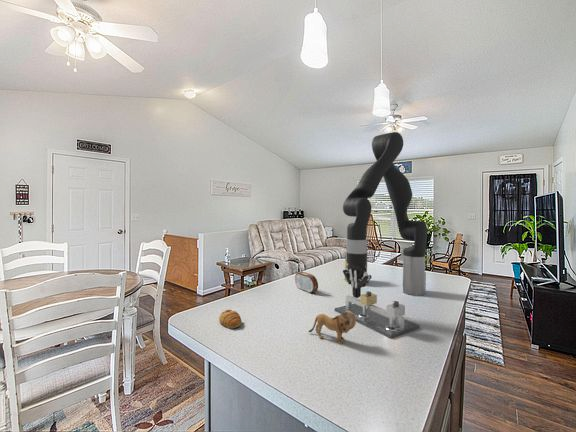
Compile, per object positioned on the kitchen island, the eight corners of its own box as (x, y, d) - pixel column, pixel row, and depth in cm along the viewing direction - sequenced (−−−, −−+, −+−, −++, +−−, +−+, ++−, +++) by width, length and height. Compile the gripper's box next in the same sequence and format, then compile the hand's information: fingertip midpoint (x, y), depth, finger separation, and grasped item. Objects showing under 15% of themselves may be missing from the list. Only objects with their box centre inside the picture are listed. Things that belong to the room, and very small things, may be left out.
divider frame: (352, 304, 110) (352, 284, 110) (407, 328, 88) (407, 302, 88) (342, 306, 108) (342, 285, 107) (396, 331, 86) (397, 305, 86)
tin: (318, 294, 127) (318, 275, 126) (313, 295, 125) (313, 276, 125) (299, 286, 139) (298, 269, 139) (293, 287, 137) (293, 270, 137)
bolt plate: (361, 304, 113) (361, 301, 113) (419, 328, 91) (419, 324, 91) (334, 310, 106) (334, 307, 106) (390, 338, 84) (390, 334, 84)
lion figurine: (357, 339, 83) (357, 309, 83) (353, 347, 79) (353, 315, 78) (311, 330, 90) (311, 302, 89) (305, 337, 85) (305, 308, 85)
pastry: (246, 326, 93) (246, 315, 93) (227, 332, 89) (227, 320, 89) (235, 317, 101) (234, 307, 100) (216, 322, 97) (216, 311, 97)
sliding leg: (370, 310, 102) (370, 289, 102) (376, 313, 99) (376, 292, 99) (360, 313, 99) (360, 292, 99) (366, 316, 97) (366, 294, 97)
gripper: (377, 252, 100) (377, 300, 101) (351, 248, 112) (351, 291, 112) (362, 254, 96) (362, 304, 97) (337, 249, 108) (337, 294, 108)
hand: (356, 297), depth 105 cm, fingers closed
